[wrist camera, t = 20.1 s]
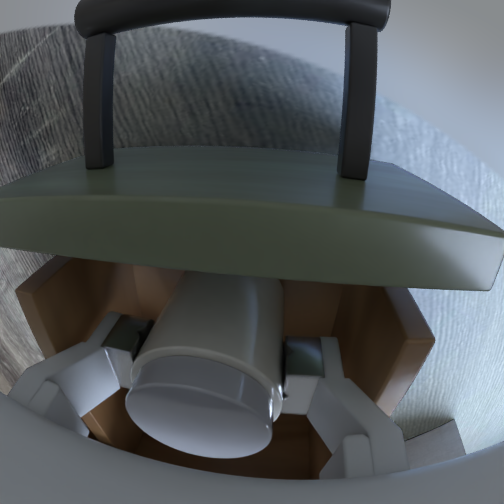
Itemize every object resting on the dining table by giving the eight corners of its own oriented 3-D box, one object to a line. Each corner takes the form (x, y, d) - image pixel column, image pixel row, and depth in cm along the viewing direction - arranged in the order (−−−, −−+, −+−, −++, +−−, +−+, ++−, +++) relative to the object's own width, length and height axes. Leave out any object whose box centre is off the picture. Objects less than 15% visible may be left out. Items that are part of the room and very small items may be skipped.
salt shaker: (174, 246, 10) (95, 360, 5) (290, 255, 10) (292, 393, 5) (183, 332, 12) (139, 444, 7) (279, 343, 12) (272, 467, 7)
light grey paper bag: (388, 447, 20) (400, 537, 11) (454, 419, 18) (479, 507, 9) (394, 457, 22) (405, 537, 13) (454, 432, 20) (474, 511, 11)
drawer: (106, 38, 8) (-25, 14, 2) (402, 42, 7) (520, -10, 1) (146, 376, 16) (107, 465, 10) (329, 398, 16) (336, 499, 10)
